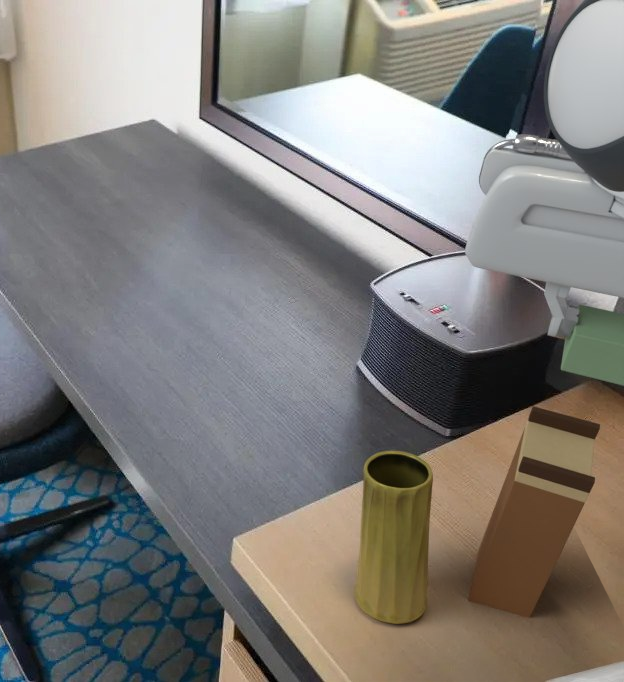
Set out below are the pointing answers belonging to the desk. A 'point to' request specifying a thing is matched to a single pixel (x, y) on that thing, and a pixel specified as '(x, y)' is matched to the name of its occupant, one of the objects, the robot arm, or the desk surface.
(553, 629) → the desk surface
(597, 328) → the green pad
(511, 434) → the desk surface
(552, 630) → the desk surface
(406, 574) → the vase
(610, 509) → the desk surface
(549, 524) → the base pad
